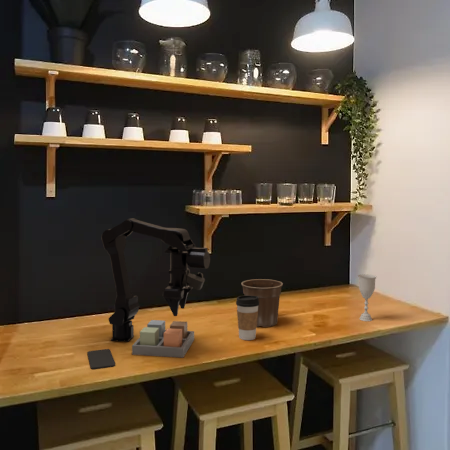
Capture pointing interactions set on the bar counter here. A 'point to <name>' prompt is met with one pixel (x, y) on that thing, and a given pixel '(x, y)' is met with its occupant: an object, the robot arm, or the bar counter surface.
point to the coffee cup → (247, 316)
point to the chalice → (366, 292)
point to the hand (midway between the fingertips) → (179, 312)
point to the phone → (100, 359)
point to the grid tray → (161, 340)
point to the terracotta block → (173, 337)
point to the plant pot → (265, 299)
